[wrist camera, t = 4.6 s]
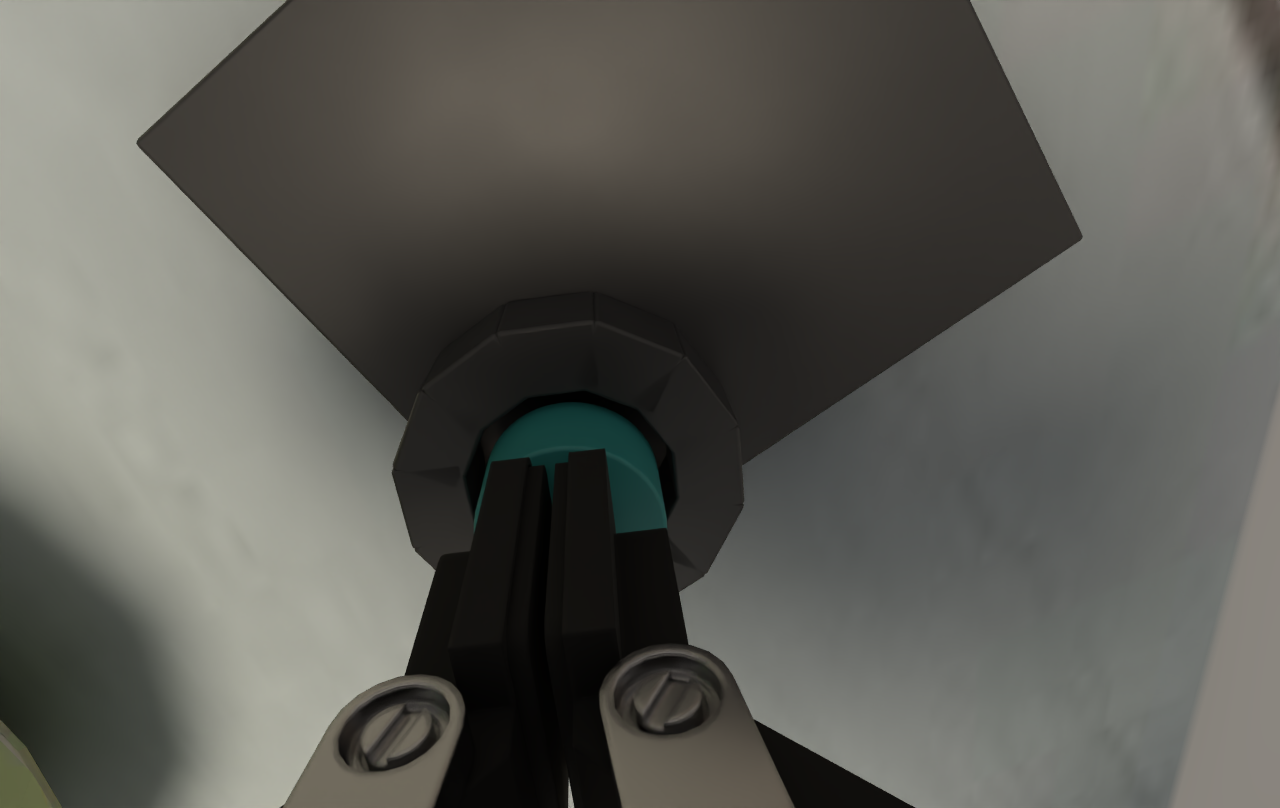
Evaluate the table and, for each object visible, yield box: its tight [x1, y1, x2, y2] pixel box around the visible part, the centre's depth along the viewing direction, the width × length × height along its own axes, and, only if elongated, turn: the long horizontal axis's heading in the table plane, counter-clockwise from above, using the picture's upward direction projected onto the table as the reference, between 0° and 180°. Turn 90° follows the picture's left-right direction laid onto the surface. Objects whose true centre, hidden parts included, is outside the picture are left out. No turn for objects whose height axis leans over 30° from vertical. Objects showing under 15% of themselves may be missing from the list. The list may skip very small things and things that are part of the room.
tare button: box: [474, 402, 667, 534], centre depth 12 cm, size 3×3×2 cm
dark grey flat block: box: [137, 0, 1082, 592], centre depth 13 cm, size 12×13×3 cm
